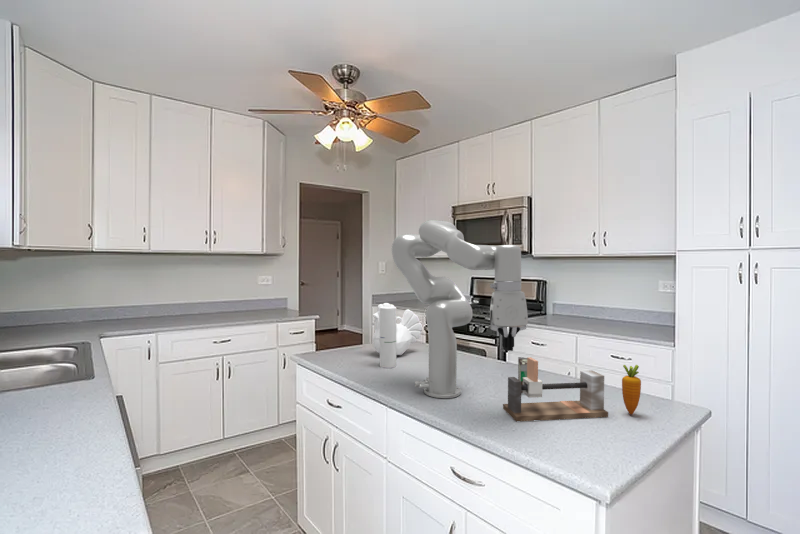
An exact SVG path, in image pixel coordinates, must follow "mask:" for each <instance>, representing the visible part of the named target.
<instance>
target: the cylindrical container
mask: <svg viewBox="0 0 800 534" xmlns="http://www.w3.org/2000/svg"><path fill="white" fill-rule="evenodd" d="M397 313H398V312H397V307H396V306H395V307H380V354H379V368H382V369H393V368H396V367H397V355H396V328H397V324H398V323H397V320H398V319H397V317H398V315H397Z"/></svg>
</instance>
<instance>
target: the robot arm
mask: <svg viewBox="0 0 800 534" xmlns="http://www.w3.org/2000/svg"><path fill="white" fill-rule="evenodd" d="M464 237H465V236H464V234H463V232H462V231H461V230H458V229H457V227H456V226H455V224H454V223H452V222H450V221H446V220H436V219H435V220H434V219H430V220H426V221H424V222H422V223H421V224H420V226H419V228H418V234H417V233H416V234H415V233H405V234H400V235H398V236H396V237H395V239H393V241H392V245H391V255H392V261H393V263H395V266H396V267H397V269H398V270H399V271H400V272H401V274H402V275H403V277H404V278H405V279H406V281H407V283H408V284H409V286H410V288H411V290H412V291H413V292H414V294H415V296H416V298H417V300H419V301H420V302H421V303H423V304H429V305H428V306H427V308H426V311H425V319H426V324H427V332H428V377H426V379H424V380H422V381H420V380H415V381H414V387H415V388H419V389H423V392H424V394H425V395H427V396H429V397H432V398H435V399H436V398H437V399H453V398H457V397H459V396H461V394H462V389H461V388H460V387H459V386H457V368H458V367H457V361H458V360H457V359H458V357H457V356H458V355H457V352H458V351H457V350H458V349H457V347H458V346H457V344H458V343H457V337H456V334H455V332H454V330H453V328H457V327H462V326H466V325H468V324H469V323H470V322H471V321H472V319H473V315H474V314H473V308H472V306H471V304H470V301H469V300H468V299H467V298H466V296H465V295H464V293H463V292H462V291H461V289H460V288H459V286H458V285H457V284H456V282H455V281H454V280H453V279H452V278H449V277H446V276H435V275H433V274H431V272H430V271H429V269H428V268H427V267H426V265H425V264H424V263H423V262H421V261H420V260H419V259H417V258H428V257H432V256H435V255H436V254H438V253H439V252H440V253H441V252H444V253H445V254H446V255H447V257H448V258H449V260H450V261H452V262H453V263H455V264H456V265H458V266H460V267H463V268H465V269H468V270H471V271H491V270H493V271H494V280H493V283H490V285H489V288H491V289H493V290H494V291H493V292H492V293H491V299H490V307H489V323H490V325H489V329H490V330H491V331H495V332H497V333H499V334H500V335H501V336H502V337H501V341H502V343H501V344H502V346H501V347H502V348H503V349H504V350H505V351H506V352H510V351H511V352H512V351H514V347H515V337H516V335H517V334H518V333H519V332H520V331H523V330H526V329H527V325H528V321H529V320H528V319H529V318H528V317H529V315H528V314H529V313H528V306H527V299H526V293H525V291H522V249H521V247H520V245H517V244H516V245H515V244H501V245H491V244H490V245H488V244H473V243H470V242H467V241H465V238H464Z"/></svg>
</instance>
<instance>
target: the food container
mask: <svg viewBox="0 0 800 534" xmlns="http://www.w3.org/2000/svg"><path fill="white" fill-rule="evenodd" d="M527 358H528V357H524V356H523V357H522V356H518V357H517V359H518V360H517V362H518V363H517V364H518V369H517V370H518V371H517V374H518V375H517V379H518V380H520V381H521V385H523V377H527ZM522 391H523V390H521V394H523V393H522Z"/></svg>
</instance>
